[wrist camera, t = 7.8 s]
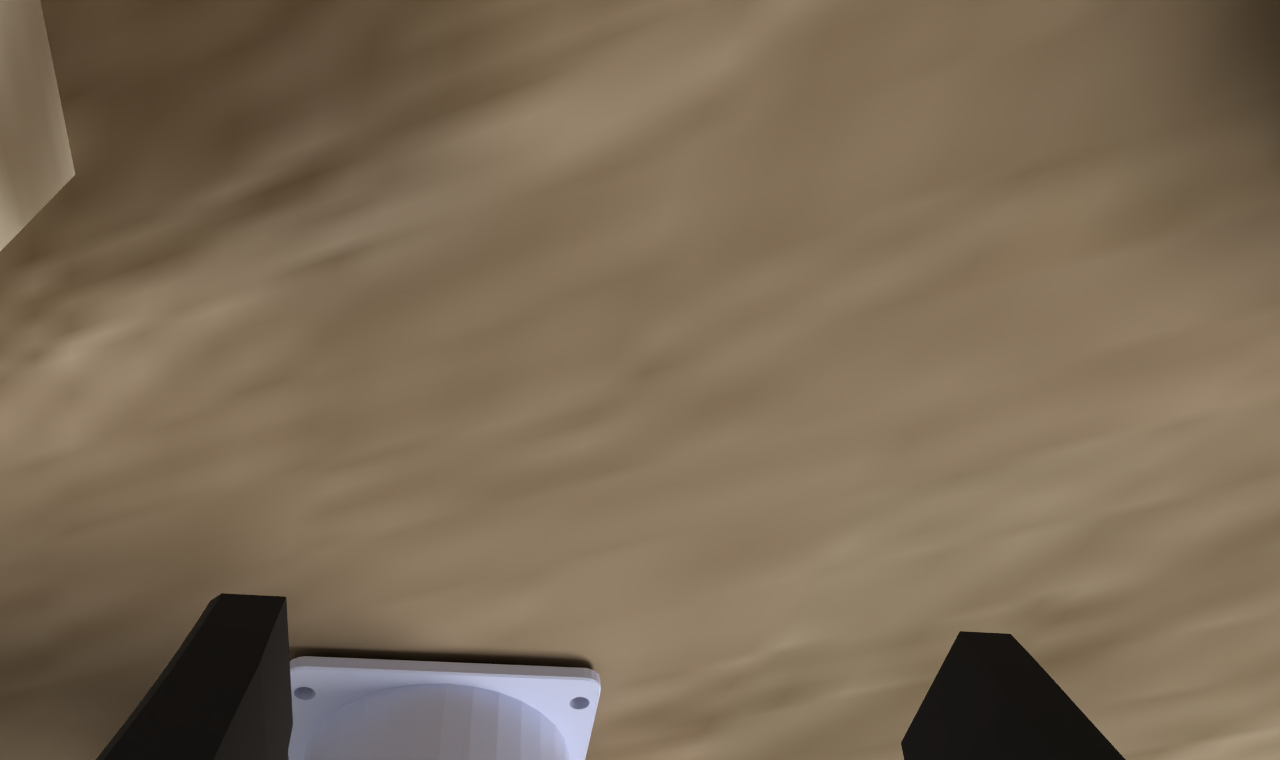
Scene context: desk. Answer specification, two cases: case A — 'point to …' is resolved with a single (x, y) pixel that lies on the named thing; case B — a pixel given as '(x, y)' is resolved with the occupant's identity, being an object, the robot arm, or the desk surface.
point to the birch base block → (28, 119)
